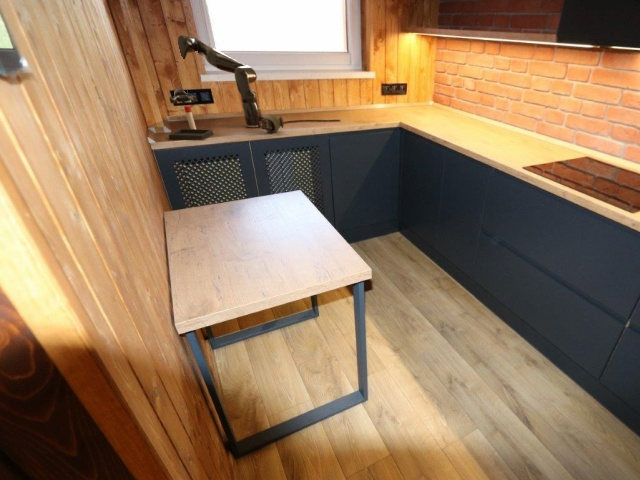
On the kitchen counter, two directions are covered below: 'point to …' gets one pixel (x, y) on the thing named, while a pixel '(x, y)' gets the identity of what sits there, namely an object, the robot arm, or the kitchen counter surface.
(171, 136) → the tray
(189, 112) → the marker
